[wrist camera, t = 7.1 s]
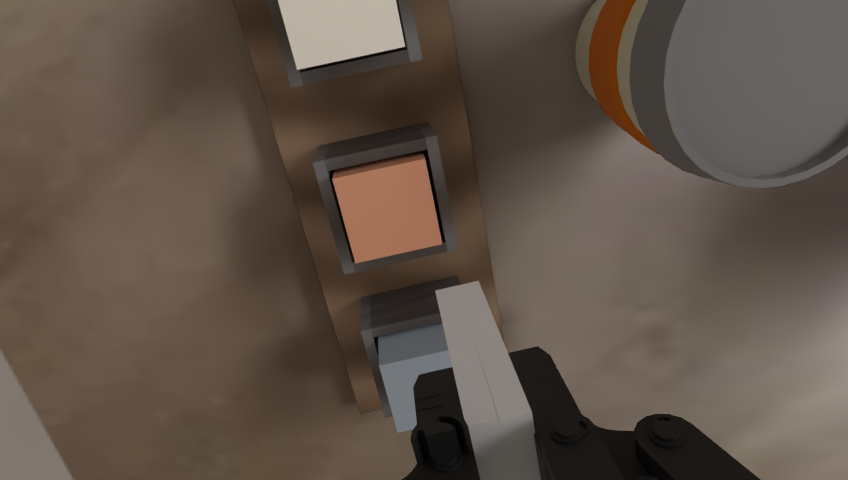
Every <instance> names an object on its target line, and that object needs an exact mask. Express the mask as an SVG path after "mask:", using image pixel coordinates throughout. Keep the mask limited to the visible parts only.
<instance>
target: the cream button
mask: <svg viewBox="0 0 848 480" xmlns="http://www.w3.org/2000/svg"><path fill="white" fill-rule="evenodd" d="M278 3H279V6H280V10H281V14H282V17H283V21H284V25H285V28H286V32H287V35H288V39H289V43H290V46H291V50H292V53H293V57H294V61H295V64H296V68H297V70H299V69H304V68H309V67H313V66H318V65H323V64H327V63H332V62H337V61H341V60H346V59H350V58H355V57H360V56H364V55H369V54H374V53H378V52H383V51H388V50H392V49H397V48H402V47H405V43H404V38H403V33H402V28H401V23H400V18H399V13H398V8H397V3H396V0H278Z"/></svg>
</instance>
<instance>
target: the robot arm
mask: <svg viewBox="0 0 848 480" xmlns="http://www.w3.org/2000/svg"><path fill="white" fill-rule="evenodd" d="M435 292H436V297H437V301H438V306H439V310H440V315H441V319H442V323H443V328H444V332H445V337H446V341H447V346H448V350H449V354H450V359H451V363H452V367H450V368H446V369H441V370H437V371H432V372H428V373H424V374H419V375H418V378H417V380H416V382H415V384H414V387H413V391H414V400H415V410H416V420H417V425H416V426H415V428H414V429H413V431H412V435H411V442H412V446H413V449H414V453H415V457H416V460H417V465H416V466H415V468H414V469H413V471H412V472H411V473H410V474H409V475H408V476H406V477H405V478H403V479H402V480H760V479H759V478H758V477H756V476H755V475H754V474H753V473H752V472H750V471H749V470H748V469H747V468H745V467H744V466H743V465H742V464H740V463H739V462H738V461H737V460H736V459H734V458H733V457H732V456H731V455H729V454H728V453H727V452H726V451H724V450H723V449H722V448H721V447H719V446H718V445H717V444H716V443H715V442H713V441H712V440H711V439H710V438H708V437H707V436H706V435H705V434H703V433H702V432H701V431H700V430H699V429H697V428H696V427H695V426H694V425H692V424H691V423H689V422H688V421H686V420H684V419H683V418H681V417H677V416H673V415H670V414H654V415H650V416H647V417H645V418H643V419H642V420H640V421H639V422H638V423H637V425H636V427H635V429H634V431H615V430H607V429H604V428H600V427H597V426H595V425H594V424H593V423H592V422H591V421H590V420H589V419H588V418H586V417H584V416H583V415H582V414H581V412H580V411H579V409H578V407H577V405H576V403H575V401H574V399H573V397H572V395H571V394H570V392H569V390H568V388H567V386H566V384H565V382H564V380H563V379H562V377H561V375H560V373H559V371H558V369H557V368H556V365H555V364H554V362H553V360H552V358H551V356H550V355H549V354H548V353H546V352H545V351H543V350H542V349H541V348H539V347H538V346H537V347H533V348H529V349H524V350H520V351H515V352H511V353H508V352H507V349H506V347H505V345H504V342H503V340H502V337H501V335H500V332H499V330H498V327H497V325H496V322H495V320H494V317H493V315H492V313H491V310H490V308H489V305H488V303H487V300H486V298H485V295H484V293H483V290H482V288H481V286H480V283H479V281H475V282H471V283H466V284H462V285H458V286H453V287H449V288H444V289H440V290H436V291H435Z"/></svg>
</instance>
